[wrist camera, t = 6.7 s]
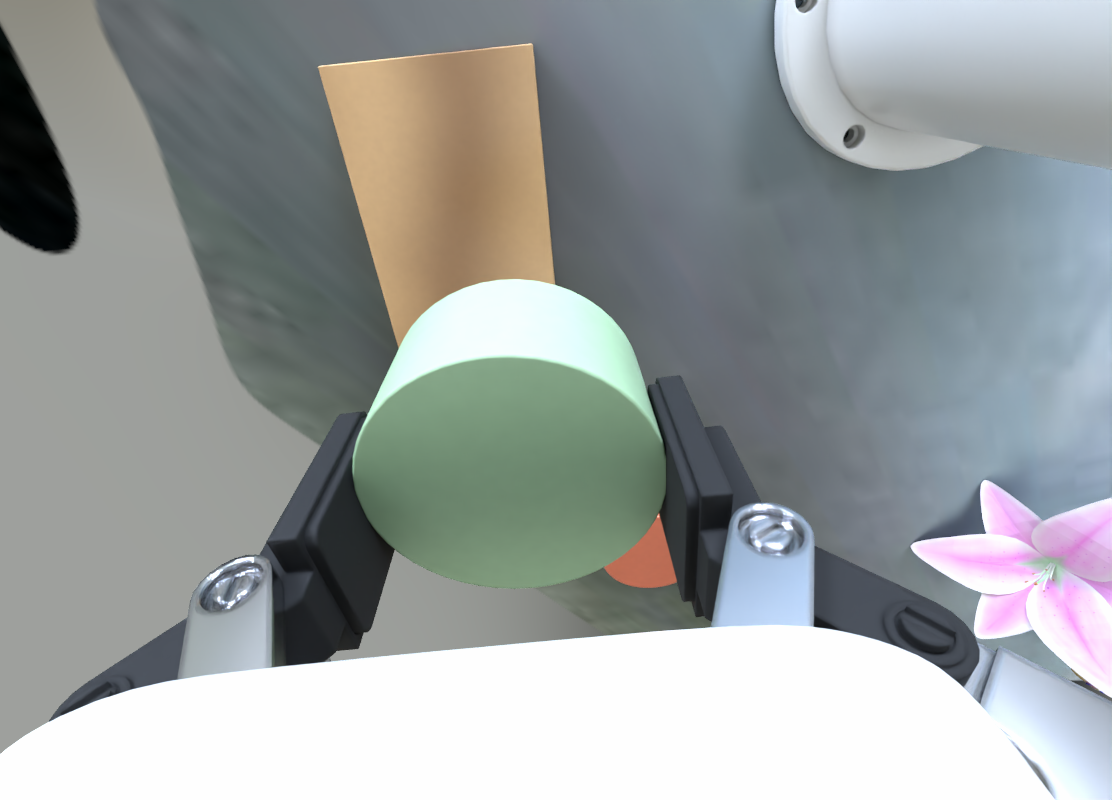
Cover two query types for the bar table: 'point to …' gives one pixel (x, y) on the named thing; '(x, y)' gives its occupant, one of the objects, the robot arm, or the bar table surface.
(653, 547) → the terracotta disc
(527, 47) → the board
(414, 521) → the sage disc
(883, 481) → the bar table surface
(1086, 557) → the lily
